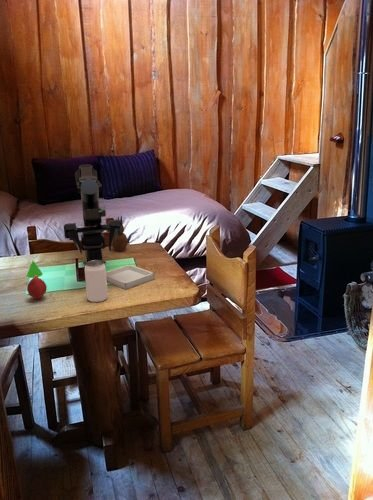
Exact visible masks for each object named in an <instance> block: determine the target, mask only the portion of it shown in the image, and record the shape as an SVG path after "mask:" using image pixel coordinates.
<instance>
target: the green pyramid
mask: <svg viewBox="0 0 373 500" xmlns="http://www.w3.org/2000/svg"><path fill="white" fill-rule="evenodd" d="M35 275H37V276H38V278H39V277H42V276H43V275H44V274H43V272H42V270H41V269H40V268H39V267H38V264H36V263H35V260H31V264H30V266H29V269H28V271H27V274H26V276H25V277H27V278H28V279H33V278H34V276H35Z"/></svg>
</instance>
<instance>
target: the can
mask: <svg viewBox="0 0 373 500" xmlns="http://www.w3.org/2000/svg"><path fill="white" fill-rule="evenodd" d="M103 261H104V260H103ZM103 261H101V260H92V261H88V262H86V264H85V267H84V278H85V287H86V288H85V289H86V298H87V300H88V301H89V302H91V303H101V302H104V301H106V300H107V299H108V298H109V297H108V292H109V291H108V282H107V278H106V272H107V270H106V269H107V267H106V265H105V263H104V262H103Z"/></svg>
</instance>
